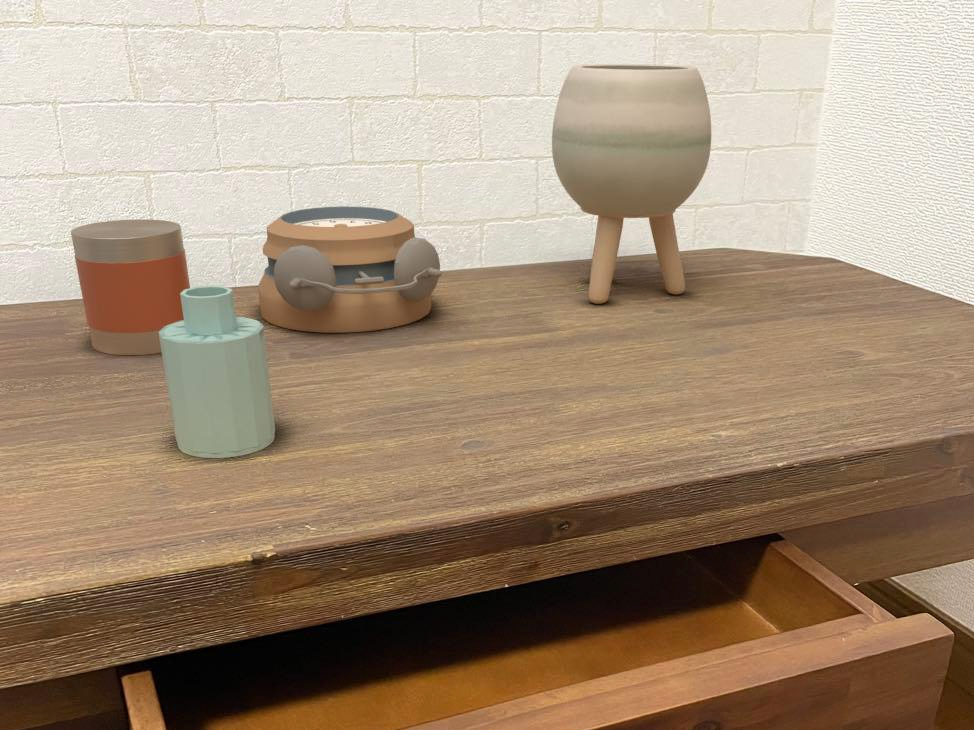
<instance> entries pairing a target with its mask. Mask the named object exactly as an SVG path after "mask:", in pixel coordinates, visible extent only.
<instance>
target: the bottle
mask: <svg viewBox="0 0 974 730" xmlns="http://www.w3.org/2000/svg"><path fill="white" fill-rule="evenodd" d="M180 297H181V304H182V311H183V317H184V320H181V321H178V322H175V323H172V324H169V325H167V326H165V327H163V328H162V329H161V330H160V331H159V338H160V345H161V351H162V353H161V357H162V363H163V369H164V375H165V376H164V377H165V381H166V382H165V383H166V388H167V394H168V400H169V401H168V402H169V406H170V412H171V420H172V425H173V432H174V436H175V440H176V443H177V448H178V449H179V451H180V452H182V453H184V454H186V455H189V456H191V457H197V458H204V459H225V458H228V459H229V458H235V457H241V456H245V455H246V456H247V455H249V454H254V453H256V452H259V451H262V450H263V449H266V448H268V447H269V446H270V445H271V444H272V443H273V442H274V441H275V438H276V434H275V433H276V425H275V415H274V408H273V398H272V389H271V381H270V370H269V363H268V352H267V344H266V337H265V336H266V335H265V326H264V325H263V324H262V323H261V322H260V321H259V320H256V319H254V318H249V317H246V316H237V314H236V305H235V304H236V303H235V297H234V290H233V289H232V288H230V287H228V286H224V285H223V286H221V285H202V286H200V285H199V286H194V287H190V288H189V289H185V290H183V291H182V292H181V293H180Z"/></svg>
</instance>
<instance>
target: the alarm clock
mask: <svg viewBox="0 0 974 730" xmlns="http://www.w3.org/2000/svg"><path fill="white" fill-rule="evenodd" d="M265 228H266V235H267V236H266V241H265V243H264V244H263V247H262V254H263V255H264V256H265V257H267V264H268V266H267V267H266V268H265V269H264V271H263V275H262V276H261V279H260V281H259V282H258V286H257V291H258V300H259V308H260V309H259V310H260V316H261V318H262V319H263V320H265V321H266V322H267V323H269V324H271V325H273V326H277V327H279V328H284V329H287V330H294V331H299V332H311V333H323V334H325V333H326V334H330V333H331V334H349V333H365V332H373V331H380V330H381V331H382V330H388V329H393V328H396V327H401V326H406V325H409V324H411V323H415V322H416V321H420V320H422V319H423V318H425V317H426V316H428V315H429V314H430V311H431V309H432V305H433V304H432V294H433V292H434V291H435V289H436V288H437V284H438V282H439V279H440V277H442V271H441V263H440V256H439V253H438V251H437V250H436V247H435V246H434V245H433V244H432V243H431V242H430V241H428V240H427V239H425V238H422V237H416V235H415V225H414V223H413V222H412V221H411V220H409V219H408V218H406V217H405V216H403V215H401V214H400V213H398V212H395V211H394V210H389V209H385V208H379V207H371V206H346V205H345V206H343V205H342V206H341V205H340V206H321V207H311V208H303V209H297V210H293V211H289V212H286V213H283V214H282V215H280V216H279V217H277V218H276V219H275V220H274V221H272V222H271V223H269V224H268V225H267V226H266V227H265Z"/></svg>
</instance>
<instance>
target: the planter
mask: <svg viewBox="0 0 974 730" xmlns="http://www.w3.org/2000/svg"><path fill="white" fill-rule="evenodd" d="M551 133H552V134H551V154H552V155H551V156H552V160H553V161H552V162H553V166H554V169H555V173H556V175H557V177H558V180H559V182H560V184H561V185H562V187H563V189H564V191H566V193H567V195H568V196H569V197H570V198H571V200H573V201H574V203H576V204H577V205H578V207H580V208H579V209H580V210H581V211H582V212H583V213H586V214H588V215H593V216H597V221H596V229H595V237H594V243H593V244H594V245H593V249H592V257H591V264H590V273H589V278H590V279H589V284H588V285H589V286H588V300H589V301H590V302H591V303H593V304H594V305H595V304H596V305H602V304H603V303H607V301H608V300H609V297H610V292H611V287H612V283H613V277H614V273H615V268H616V263H617V259H618V254H619V248H620V243H621V238H622V233H623V227H624V219H646V218H648V222H649V223H648V224H649V227H650V231H651V235H652V240H653V244H654V248H655V252H656V256H657V260H658V264H659V267H660V271H661V275H662V278H663V283H664V287H665V290H666V291H667V293H668V294H671V295H675V296H677V295H681V294H683V293H684V292H685V290H686V281H685V274H684V270H683V264H682V259H681V254H680V249H679V243H678V237H677V231H676V225H675V220H674V219H675V218H674V213H676V210H677V209H678V208H679V207H681V206H682V205H683V204H684V203H685V202H686V201H687V200H689V198H690V197H691V196H692V194H694V192H695V191H696V189H697V188H698V186H699V185H700V183H701V181H702V180H703V178H704V176H705V173H706V170H707V168H708V165H709V160H710V155H711V149H712V117H711V108H710V104H709V99H708V93H707V90H706V87H705V84H704V80H703V78H702V75H701V73H700V71H699V69H698V68H697V67H695V66H691V65H676V64H645V63H643V64H642V63H597V64H595V63H593V64H578V65H573V66H571V68H570V69H569V71H568V73H567V75H566V77H565V79H564V82H563V83H562V86H561V90H560V92H559V95H558V99H557V103H556V107H555V112H554V116H553V122H552V132H551Z"/></svg>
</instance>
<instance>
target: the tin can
mask: <svg viewBox="0 0 974 730" xmlns="http://www.w3.org/2000/svg"><path fill="white" fill-rule="evenodd" d="M70 236H71V241H72V246H73V251H74V261H75V266H76V271H77V277H78V281H79V286H80V292H81V297H82V298H81V299H82V303H83V307H84V308H83V309H84V313H85V318H86V324H87V326H88V330H89V335H90V342H91V346H92V348H93V349H94V350H95V351H98V352H100V353H104V354H108V355H115V356H145V355H146V356H147V355H154V354H155V355H156V354H162V351H161V345H160V338H159V331H160V330H161V329H162V328H163V327H165V326H167V325H169V324H172V323H175V322H178V321H181V320H184V317H183V311H182V304H181V297H180V293H181V292H182V291H183V290H185V289H189V288H191V284H190V283H191V282H190V276H189V270H188V269H189V268H188V262H187V255H186V249H185V245H184V239H183V232H182V226H181V225H180V224H179V223H177V222H174V221H169V220H161V219H145V218H143V219H117V220H116V219H115V220H107V221H106V220H105V221H100V222H99V221H98V222H93V223H88V224H84V225H80V226H77V227H75V228H73V229H71V230H70Z"/></svg>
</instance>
